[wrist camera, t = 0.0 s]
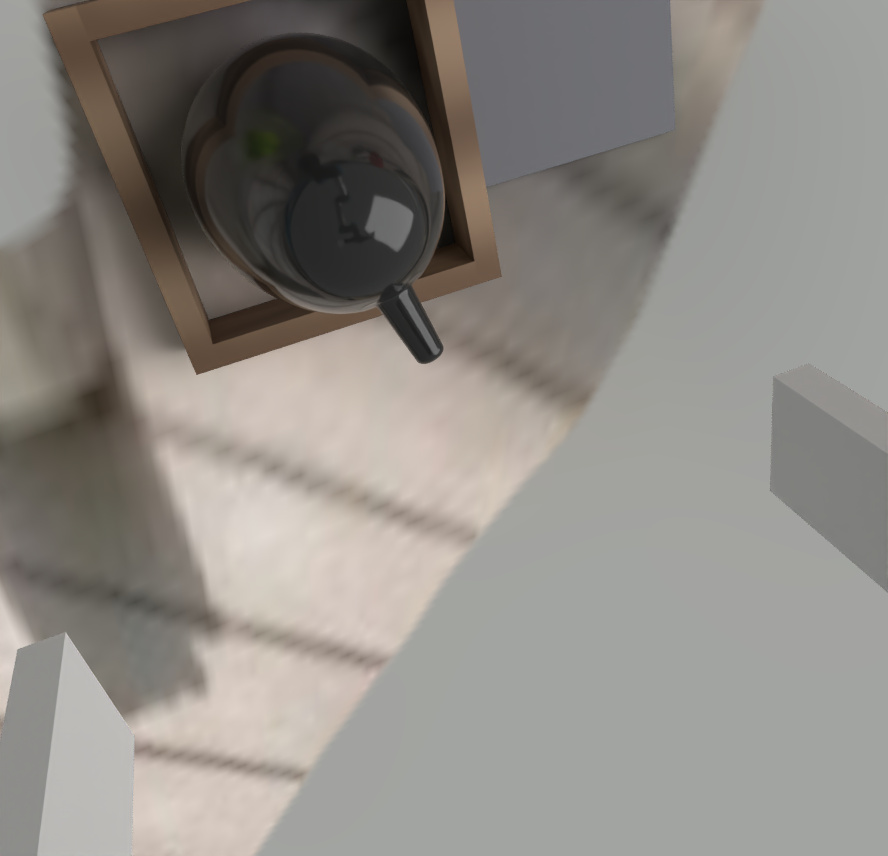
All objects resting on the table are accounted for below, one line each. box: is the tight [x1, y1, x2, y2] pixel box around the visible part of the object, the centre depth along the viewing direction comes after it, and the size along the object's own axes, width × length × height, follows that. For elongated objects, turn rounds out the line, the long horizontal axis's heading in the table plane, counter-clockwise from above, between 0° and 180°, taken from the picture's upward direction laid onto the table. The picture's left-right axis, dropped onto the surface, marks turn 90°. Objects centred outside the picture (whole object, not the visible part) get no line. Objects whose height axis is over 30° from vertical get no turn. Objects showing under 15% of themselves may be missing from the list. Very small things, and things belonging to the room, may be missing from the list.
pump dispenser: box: [181, 33, 445, 364], centre depth 31 cm, size 10×10×15 cm
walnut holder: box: [43, 0, 502, 375], centre depth 36 cm, size 15×15×3 cm
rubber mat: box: [454, 0, 675, 187], centre depth 38 cm, size 12×11×1 cm
